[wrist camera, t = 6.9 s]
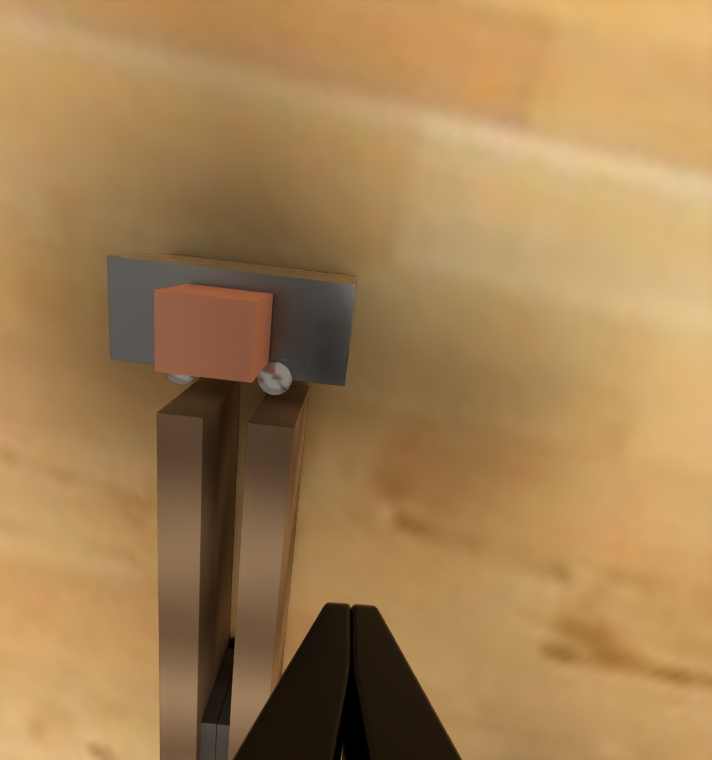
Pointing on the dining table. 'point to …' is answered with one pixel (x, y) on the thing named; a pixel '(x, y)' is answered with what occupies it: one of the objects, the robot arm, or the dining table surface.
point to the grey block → (289, 287)
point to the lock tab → (212, 331)
